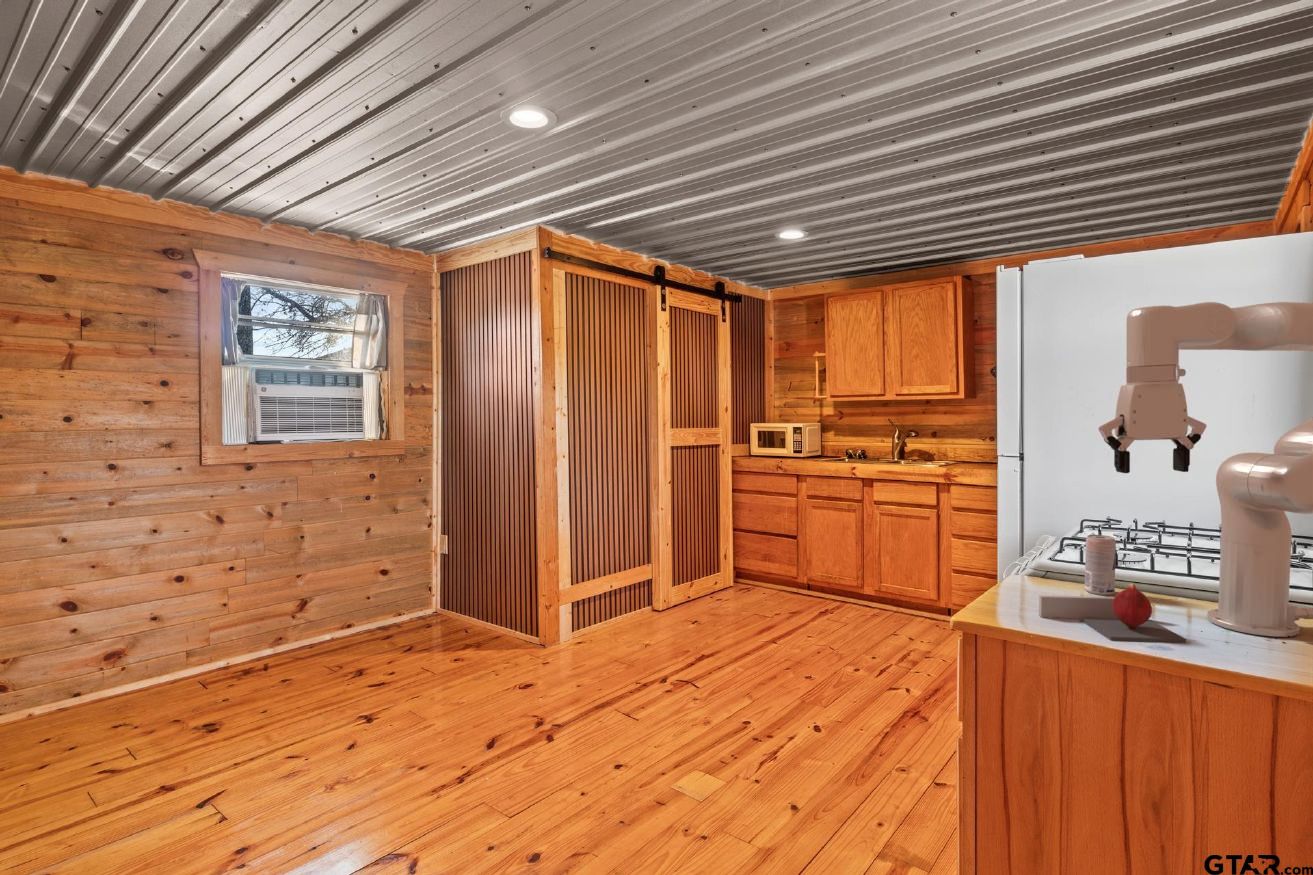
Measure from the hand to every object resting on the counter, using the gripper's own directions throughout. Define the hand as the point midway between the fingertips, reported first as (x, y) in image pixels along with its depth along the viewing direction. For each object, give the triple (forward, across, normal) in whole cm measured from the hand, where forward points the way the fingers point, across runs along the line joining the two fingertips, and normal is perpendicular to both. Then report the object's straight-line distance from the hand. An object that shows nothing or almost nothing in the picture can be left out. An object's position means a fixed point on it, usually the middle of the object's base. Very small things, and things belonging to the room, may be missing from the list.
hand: (1151, 471), depth 120 cm
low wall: (+28, +8, -4) cm, 30 cm away
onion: (+28, +5, +3) cm, 29 cm away
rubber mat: (+28, +5, +3) cm, 29 cm away
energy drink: (+29, -2, -22) cm, 37 cm away
